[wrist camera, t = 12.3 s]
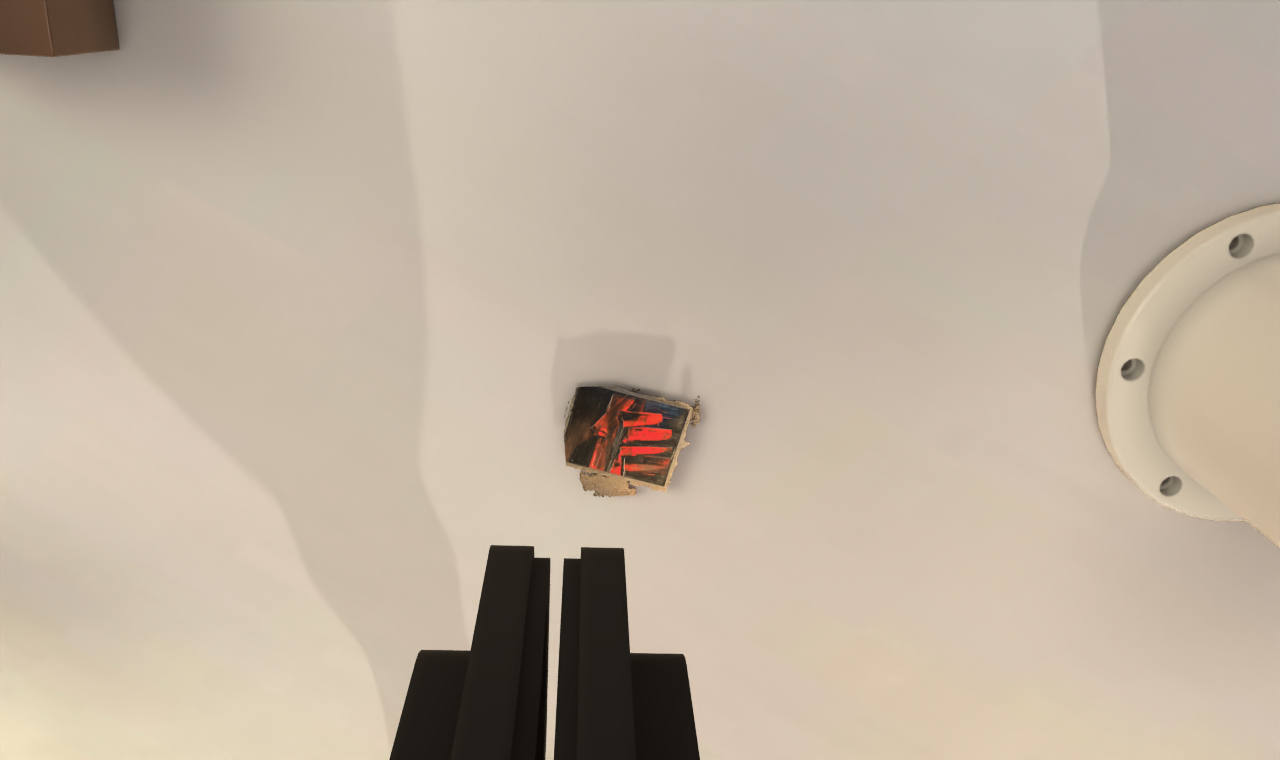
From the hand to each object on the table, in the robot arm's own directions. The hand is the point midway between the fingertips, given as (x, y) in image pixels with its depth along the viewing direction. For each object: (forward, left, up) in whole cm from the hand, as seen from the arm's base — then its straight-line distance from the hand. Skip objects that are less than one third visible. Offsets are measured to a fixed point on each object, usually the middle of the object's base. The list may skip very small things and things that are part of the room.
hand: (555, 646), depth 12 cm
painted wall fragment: (-2, +8, -23) cm, 25 cm away
